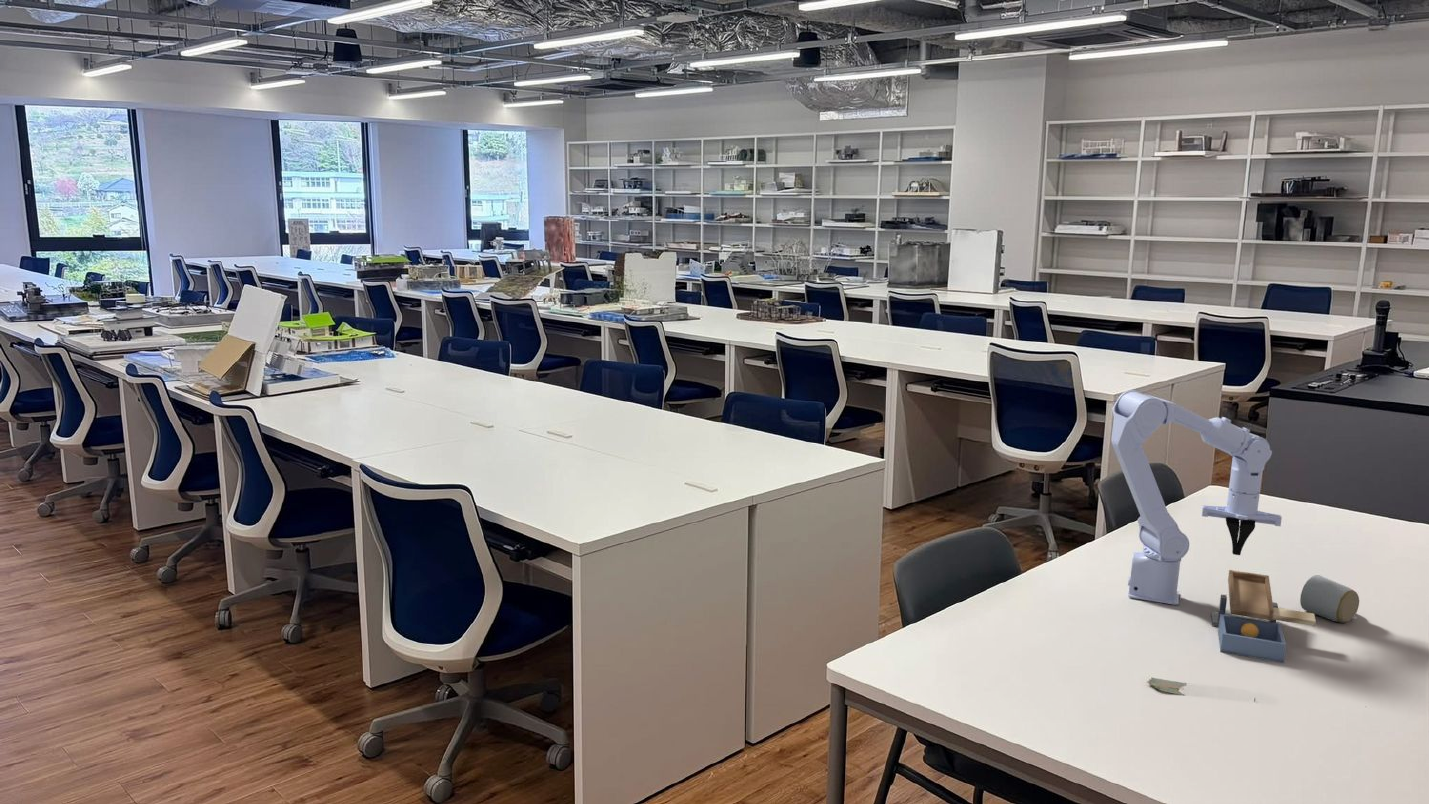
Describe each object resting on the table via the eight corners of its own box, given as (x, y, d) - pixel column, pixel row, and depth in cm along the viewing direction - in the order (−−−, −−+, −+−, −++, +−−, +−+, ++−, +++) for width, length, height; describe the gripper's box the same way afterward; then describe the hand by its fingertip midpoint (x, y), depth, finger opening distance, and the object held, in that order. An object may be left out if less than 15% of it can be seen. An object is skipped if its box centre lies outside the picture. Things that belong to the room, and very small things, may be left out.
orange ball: (1241, 618, 191) (1239, 632, 192) (1242, 626, 188) (1240, 640, 189) (1259, 621, 190) (1257, 635, 191) (1260, 629, 187) (1258, 643, 188)
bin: (1220, 651, 185) (1222, 633, 184) (1217, 631, 194) (1220, 614, 193) (1283, 662, 181) (1286, 644, 180) (1278, 641, 190) (1280, 623, 189)
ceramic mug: (1338, 628, 197) (1344, 590, 196) (1296, 613, 204) (1302, 577, 203) (1367, 619, 202) (1373, 582, 201) (1326, 605, 209) (1332, 569, 208)
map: (1143, 680, 173) (1143, 675, 173) (1271, 694, 170) (1272, 688, 170) (1149, 693, 169) (1150, 688, 168) (1282, 708, 165) (1283, 702, 165)
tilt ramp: (1228, 625, 192) (1231, 603, 190) (1226, 590, 204) (1229, 569, 202) (1313, 639, 186) (1317, 617, 185) (1305, 602, 199) (1309, 581, 197)
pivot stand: (1212, 625, 197) (1215, 600, 196) (1211, 615, 202) (1214, 590, 201) (1282, 637, 192) (1285, 611, 191) (1279, 626, 197) (1282, 600, 196)
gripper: (1205, 490, 207) (1198, 553, 210) (1286, 500, 202) (1277, 565, 204) (1205, 482, 214) (1197, 543, 216) (1282, 491, 208) (1274, 554, 210)
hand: (1236, 553), depth 211 cm, fingers closed
